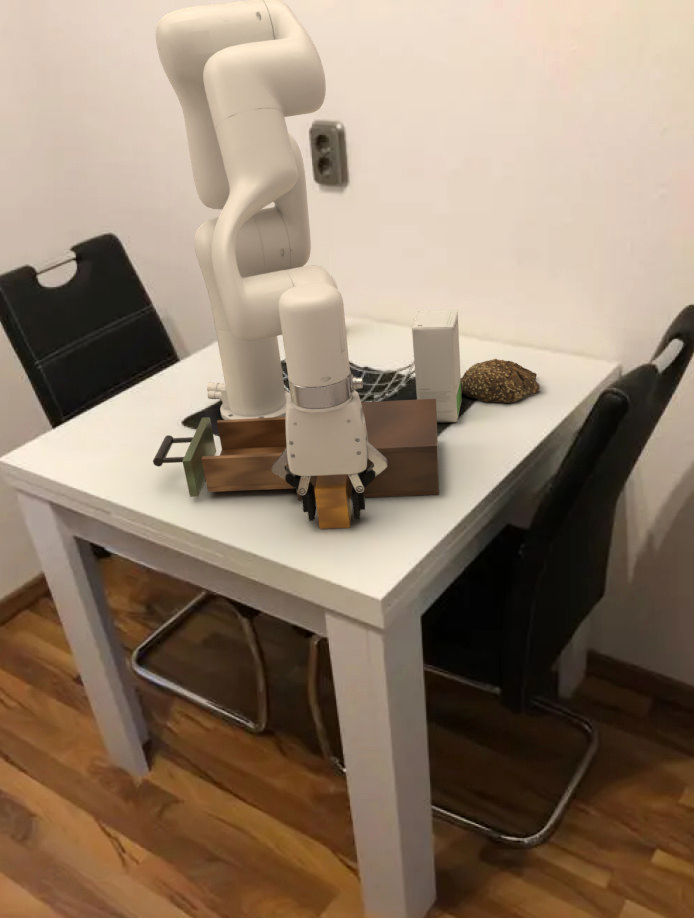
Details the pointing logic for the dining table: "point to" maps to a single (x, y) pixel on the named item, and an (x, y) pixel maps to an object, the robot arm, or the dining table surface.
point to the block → (333, 501)
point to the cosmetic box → (438, 361)
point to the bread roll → (498, 381)
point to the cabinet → (402, 448)
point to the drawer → (231, 455)
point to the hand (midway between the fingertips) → (335, 513)
